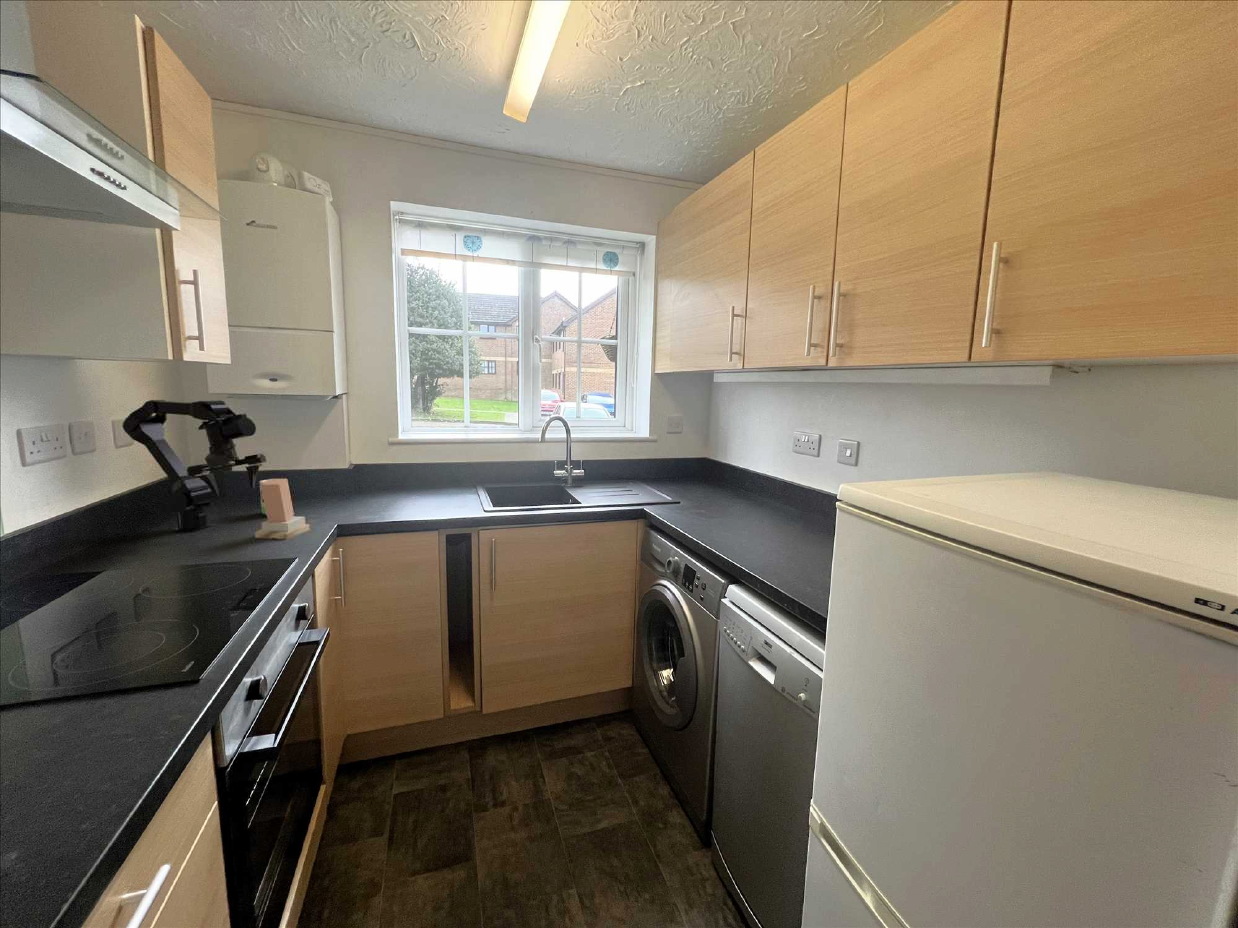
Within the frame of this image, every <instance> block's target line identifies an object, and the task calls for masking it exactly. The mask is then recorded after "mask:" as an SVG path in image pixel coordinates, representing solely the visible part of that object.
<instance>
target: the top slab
mask: <svg viewBox="0 0 1238 928" xmlns="http://www.w3.org/2000/svg"><path fill="white" fill-rule="evenodd" d="M305 524H306V517H305V516H295V515H293V516H292V517H291V518H290V519H289V520H287V521H286V522H268V520H265V521H262V522H261V529H262V531H285V532H289V531H291V530H293V529H296V528H298V527H301V526H303V525H305Z"/></svg>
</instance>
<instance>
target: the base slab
mask: <svg viewBox="0 0 1238 928" xmlns="http://www.w3.org/2000/svg"><path fill="white" fill-rule="evenodd" d="M310 530H311V529H310V524H308V523H305V525H303V526H301V527H298V528H296V529H293V530H291V531H289V532H285V531H262V528H261V529H258V530H256V531H254V538H257V539H272V538H277V539H276V540H289V539H291V538H294V537H296V536H299V535H301V534H304V533H305V532H308V531H310ZM288 538H289V539H288Z"/></svg>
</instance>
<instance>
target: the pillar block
mask: <svg viewBox="0 0 1238 928" xmlns="http://www.w3.org/2000/svg"><path fill="white" fill-rule="evenodd" d="M266 480H267V481H266V482H264V483H263V484H261V489H262V493H263V498H264V503H265V508H266V513H267V515H266V517H267V521H268V522H286V521H287V520H289V519H290V518H291V517H292V516H295V512H294V509H293V501H292V497H291V492H290V488H289V480H288V478H269V479H266Z"/></svg>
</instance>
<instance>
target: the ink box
mask: <svg viewBox="0 0 1238 928" xmlns="http://www.w3.org/2000/svg"><path fill="white" fill-rule="evenodd" d="M267 480H268V479H263V480H259V492H260V506H261V507H260V508H261V509H260V510H261V514H263V515H266V516H267V513H266V508H265V503H264V498H263V493H262V489H261V484H263V483H264V482H266V481H267Z"/></svg>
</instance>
